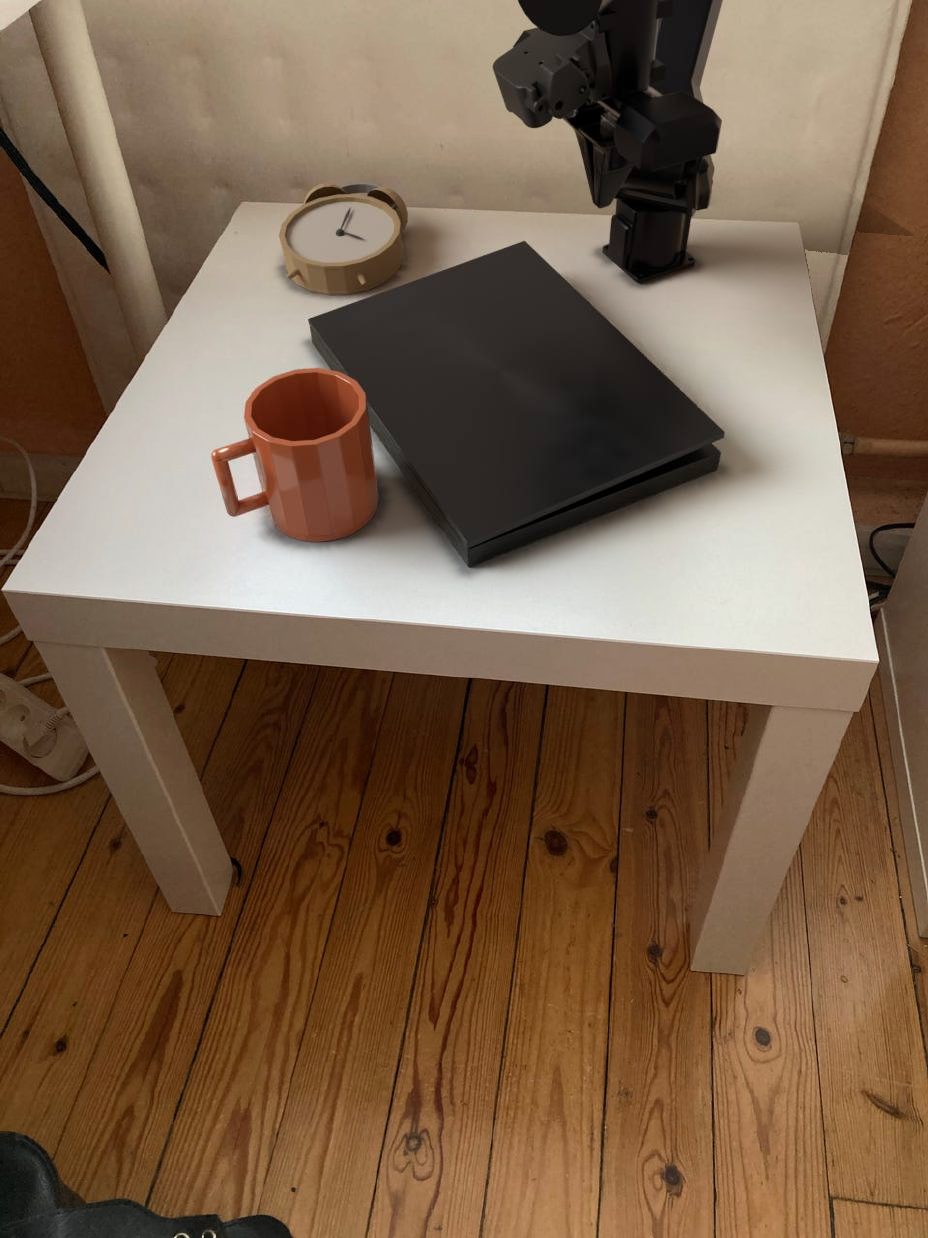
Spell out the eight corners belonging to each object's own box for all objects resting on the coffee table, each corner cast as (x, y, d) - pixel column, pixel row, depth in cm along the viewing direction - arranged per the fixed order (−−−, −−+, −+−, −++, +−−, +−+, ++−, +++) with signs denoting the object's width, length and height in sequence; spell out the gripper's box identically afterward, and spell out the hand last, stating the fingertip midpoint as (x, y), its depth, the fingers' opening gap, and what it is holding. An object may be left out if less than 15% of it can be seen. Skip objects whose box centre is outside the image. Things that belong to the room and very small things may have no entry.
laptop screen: (524, 247, 92) (524, 240, 91) (724, 439, 74) (725, 431, 74) (309, 325, 87) (307, 318, 87) (467, 550, 70) (466, 543, 69)
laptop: (524, 277, 94) (525, 258, 93) (717, 470, 77) (722, 451, 75) (312, 343, 89) (309, 324, 87) (468, 567, 71) (467, 549, 70)
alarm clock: (262, 263, 92) (306, 155, 99) (274, 305, 96) (315, 199, 103) (383, 273, 90) (419, 163, 97) (390, 315, 94) (424, 207, 101)
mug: (353, 452, 79) (338, 355, 72) (396, 518, 75) (385, 420, 68) (216, 499, 76) (187, 403, 69) (252, 571, 72) (225, 475, 65)
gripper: (445, -42, 70) (454, 179, 82) (587, 55, 59) (572, 294, 71) (585, -72, 73) (574, 146, 85) (744, 16, 62) (705, 251, 74)
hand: (601, 205), depth 79 cm, fingers closed
